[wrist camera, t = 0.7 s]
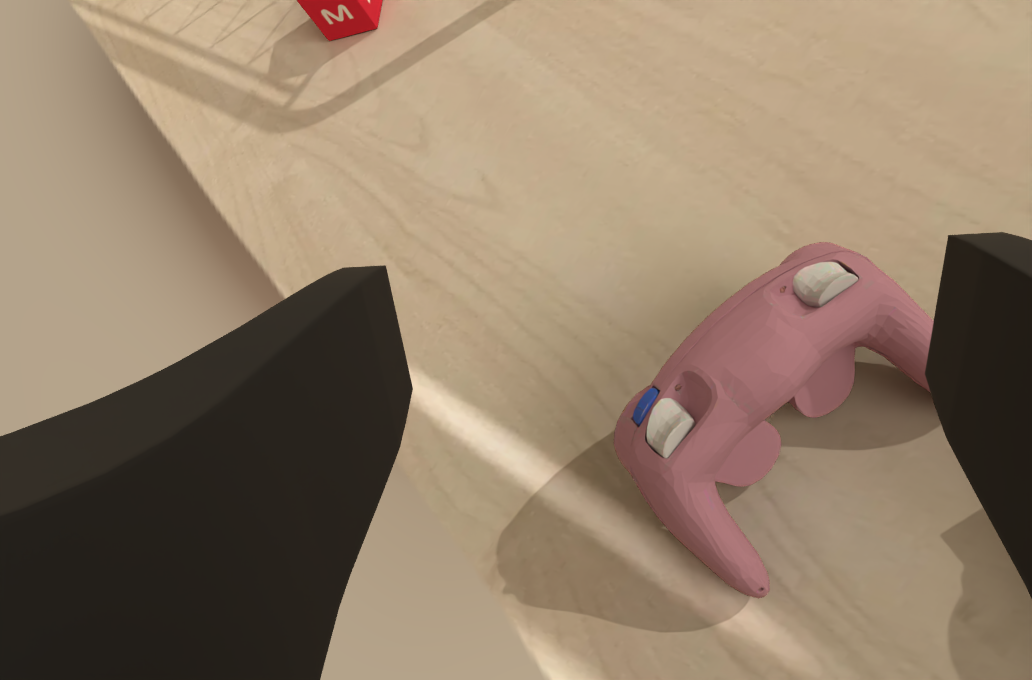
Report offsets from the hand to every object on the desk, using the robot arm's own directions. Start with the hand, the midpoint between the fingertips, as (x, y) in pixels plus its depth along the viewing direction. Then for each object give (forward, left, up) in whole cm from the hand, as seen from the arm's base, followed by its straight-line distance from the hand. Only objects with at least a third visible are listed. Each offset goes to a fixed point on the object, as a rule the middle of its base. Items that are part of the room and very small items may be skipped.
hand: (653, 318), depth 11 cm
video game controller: (+3, -3, -17) cm, 17 cm away
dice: (+34, +2, -17) cm, 38 cm away
